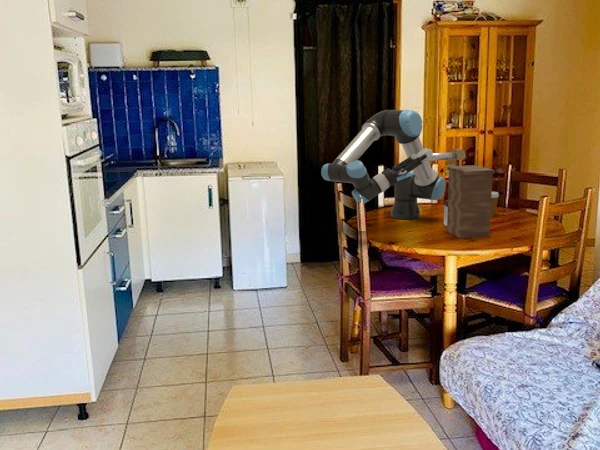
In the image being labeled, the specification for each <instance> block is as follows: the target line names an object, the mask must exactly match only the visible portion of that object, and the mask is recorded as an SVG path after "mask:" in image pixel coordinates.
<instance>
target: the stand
mask: <svg viewBox="0 0 600 450" xmlns="http://www.w3.org/2000/svg"><path fill="white" fill-rule="evenodd" d="M446 170H447V171H448V189H447V194H448V195H447V200H448V215H447V226H446V231H447V232H448V233H449V234H450V235H453V236H455V237H457V238H458V239H468V238H469V239H470V238H483V237H490V232H491V231H490V230H491V217H490V215H491V195H492V190H493V176H494V175H493V174H496V170H495V169H492V168H487V167H485V166H479V165H477V164H474V165H472V164H471V165H456V166H452V165H451V166H447V167H446Z"/></svg>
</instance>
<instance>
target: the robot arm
mask: <svg viewBox="0 0 600 450" xmlns="http://www.w3.org/2000/svg"><path fill="white" fill-rule="evenodd" d="M422 130H423V120H422V116H421V115H420V113H419V112H417V111H415V110H413V109H412V110H411V109H402V110H401V109H385V110H382V111H379V112H377V113H376V114H374V115H372V116H371V117H370V118H369V119H367V120H366V122H365V123H364V124H363V125H362V126H361V130H360V131H359V132H358V133H357V135H356V136H355V137H353V139H352V140H351V141H350V143H348V145H347V146H346V147H345V148H344V149H343V151H342V152H340V154H338V156H337V157H336V158H335V159H334V161H333V162H331V163H326V164H325V163H324V165H322V167H321V171H320V173H321V174H320V175H321V177H322V178H323V180H325V181H329V182H336V183H337V182H338V183H348V184H352V185H353V187H354V189H353V190H352V191H351V195H352V197H353V199H354V200H355V202H357V201H358V202H359V203H361V199H363V204H362V205H364V204H367V202H370V201H372V200H373V199H374V198H375V197H377V196H378V195H380V194H381V193H385V192H386V190H388V189H389V188H390V187H392V186H394V203H393V205H392V208H391V210H390V217H391V218H393V219H398V220H415V219H419V218H420V217H421V211H420V207H419V203H418V199H422V200H427V201H439V200H441V199H442V197H443V196H444V194H445V191H446V185H447V184H446V179H445V178H444V177H442V176H439V175H438V172H437V171H436V170H435V169H432V166H431V164H430V161H424V160H425V159H427V158H428V157H430V156H431V155H433V153H434V152H433V150H432V149H431V148H429V149H428V147H426V148H424V146H423V143H422V140H421V139H420V135H421V134H422V133H421V132H422ZM383 136H392V137H394V138H395V140H396V142H397V143H398V144H400V145H402V148H403V150H404V152H405V155H406V159H404V160H402V161H401V162H399V163H397V164H396V165H393V166H391V168H392V169H391V168H385V169H383V171H381V173H380V172H379V173H378V174H376V175H375V176H373V177H372V178H370V176H369V173H368V170H367V168H366V166H365V165H364V163H363V162H362V161H361V160H358V159H360V158H361V156H363V154H364V153H365V152H366V151H367V149H368V148H369V147H370V146H371V145H372V143H374V141H378V140H379V139H380V137H383ZM411 154H421V155H419V156H418V158H416V159H414V160H413V161H411ZM358 195H361V197H362V198H361V197H360V196H358ZM358 202H357V203H358Z"/></svg>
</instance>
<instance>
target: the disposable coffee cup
mask: <svg viewBox="0 0 600 450" xmlns="http://www.w3.org/2000/svg"><path fill="white" fill-rule="evenodd" d="M499 196H500V194H499V192H497V191H492V195H491V215H490V218H492V217H495V215H496V212H497V205H498V200H499Z"/></svg>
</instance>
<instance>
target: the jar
mask: <svg viewBox="0 0 600 450" xmlns="http://www.w3.org/2000/svg"><path fill="white" fill-rule="evenodd" d="M443 208H444V209H443V225H444V226H446V227H447V215H448V199H446V200H445V201H444V206H443Z"/></svg>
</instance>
